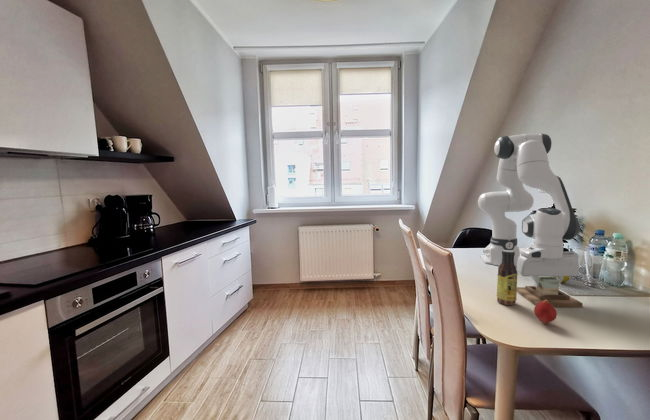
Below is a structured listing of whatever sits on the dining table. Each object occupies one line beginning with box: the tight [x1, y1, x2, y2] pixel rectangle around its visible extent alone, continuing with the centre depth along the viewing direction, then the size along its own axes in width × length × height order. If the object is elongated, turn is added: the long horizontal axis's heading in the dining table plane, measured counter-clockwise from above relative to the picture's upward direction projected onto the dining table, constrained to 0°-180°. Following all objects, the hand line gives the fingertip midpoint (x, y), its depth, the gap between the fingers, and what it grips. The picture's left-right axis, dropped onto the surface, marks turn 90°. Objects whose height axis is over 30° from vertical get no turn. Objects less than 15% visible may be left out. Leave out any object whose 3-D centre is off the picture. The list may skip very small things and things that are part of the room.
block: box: [536, 276, 560, 295], centre depth 110 cm, size 5×5×6 cm
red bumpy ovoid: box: [533, 300, 558, 325], centre depth 92 cm, size 6×6×8 cm
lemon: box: [553, 276, 571, 284], centre depth 125 cm, size 6×6×8 cm
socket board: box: [517, 285, 583, 308], centre depth 110 cm, size 15×15×3 cm
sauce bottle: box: [496, 250, 518, 306], centre depth 108 cm, size 7×6×20 cm
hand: (546, 286), depth 110 cm, fingers closed on block, 5 cm apart
